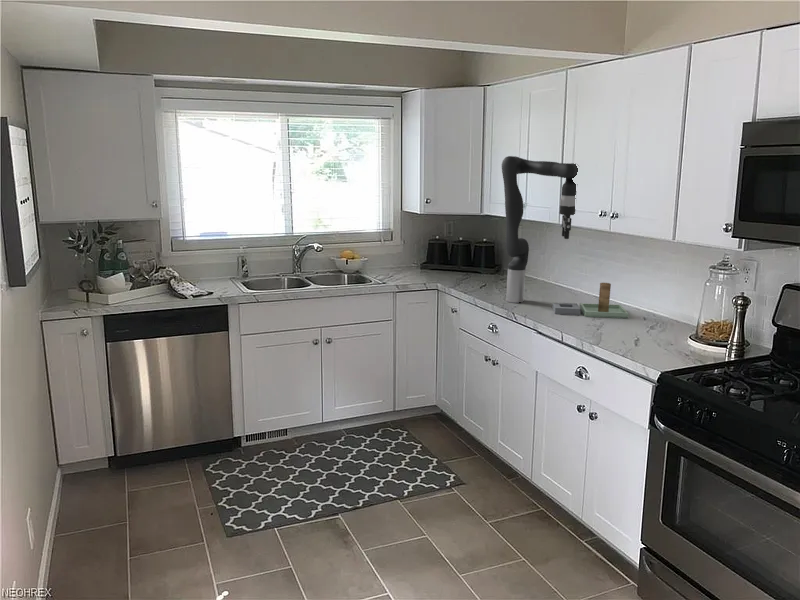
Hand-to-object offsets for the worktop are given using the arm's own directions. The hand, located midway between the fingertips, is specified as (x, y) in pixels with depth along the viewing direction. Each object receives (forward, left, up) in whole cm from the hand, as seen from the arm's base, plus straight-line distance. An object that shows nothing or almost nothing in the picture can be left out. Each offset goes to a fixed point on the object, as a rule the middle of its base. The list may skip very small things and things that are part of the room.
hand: (565, 237), depth 326 cm
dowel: (+8, +20, -35) cm, 41 cm away
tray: (+8, +20, -36) cm, 42 cm away
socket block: (+8, +2, -36) cm, 37 cm away
